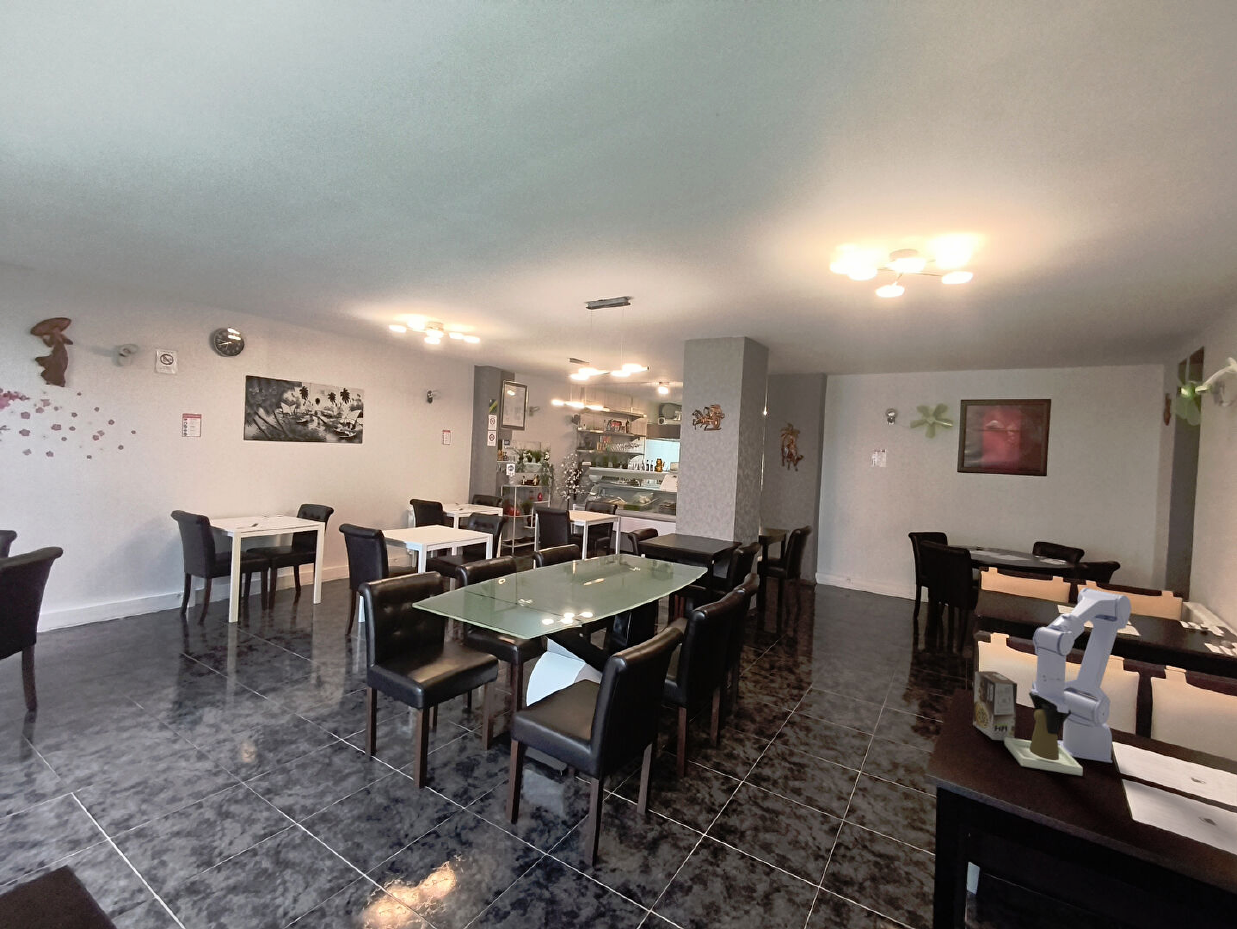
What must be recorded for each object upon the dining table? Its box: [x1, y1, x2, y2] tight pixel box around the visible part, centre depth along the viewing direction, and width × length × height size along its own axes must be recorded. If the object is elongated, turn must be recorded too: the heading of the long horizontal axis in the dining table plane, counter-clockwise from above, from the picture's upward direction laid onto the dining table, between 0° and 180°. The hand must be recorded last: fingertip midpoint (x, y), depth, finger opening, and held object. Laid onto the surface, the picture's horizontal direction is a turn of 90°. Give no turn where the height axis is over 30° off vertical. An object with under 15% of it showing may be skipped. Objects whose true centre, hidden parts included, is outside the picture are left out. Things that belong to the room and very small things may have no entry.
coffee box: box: [972, 670, 1018, 741], centre depth 156 cm, size 9×6×16 cm
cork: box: [1030, 709, 1059, 760], centre depth 141 cm, size 6×6×11 cm
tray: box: [1003, 737, 1084, 777], centre depth 143 cm, size 13×11×2 cm
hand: (1047, 728), depth 141 cm, fingers closed on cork, 5 cm apart
